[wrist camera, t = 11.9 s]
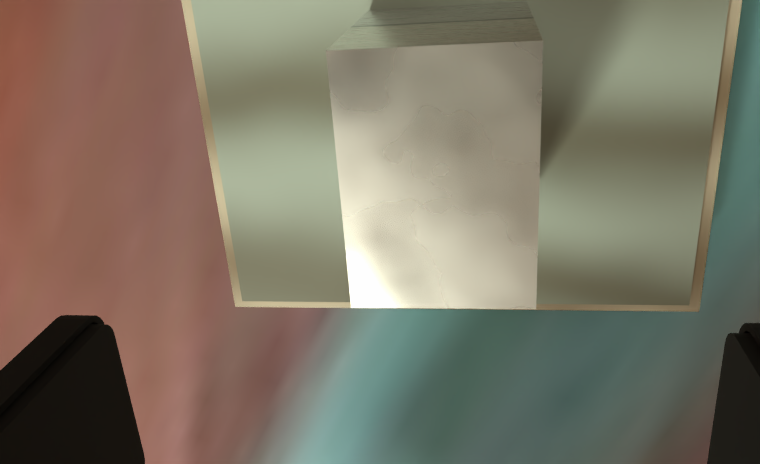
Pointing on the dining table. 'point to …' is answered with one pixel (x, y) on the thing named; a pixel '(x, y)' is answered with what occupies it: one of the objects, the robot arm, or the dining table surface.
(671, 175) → the wooden stand
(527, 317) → the dining table surface
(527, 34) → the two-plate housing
